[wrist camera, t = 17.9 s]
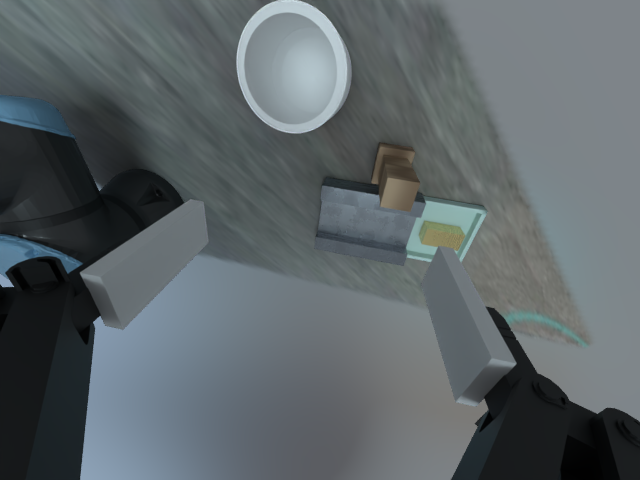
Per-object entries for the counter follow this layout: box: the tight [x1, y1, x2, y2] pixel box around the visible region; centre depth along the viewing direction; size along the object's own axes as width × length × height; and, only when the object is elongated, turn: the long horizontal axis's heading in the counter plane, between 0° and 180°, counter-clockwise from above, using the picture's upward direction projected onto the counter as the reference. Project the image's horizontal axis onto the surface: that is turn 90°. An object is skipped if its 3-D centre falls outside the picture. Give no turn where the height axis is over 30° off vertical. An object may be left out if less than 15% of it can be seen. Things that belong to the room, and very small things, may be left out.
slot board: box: [314, 177, 426, 266], centre depth 44 cm, size 16×12×4 cm
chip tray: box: [406, 196, 488, 262], centre depth 44 cm, size 10×11×2 cm
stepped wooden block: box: [371, 143, 420, 212], centre depth 34 cm, size 5×6×14 cm
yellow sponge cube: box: [441, 224, 465, 251], centre depth 43 cm, size 3×3×3 cm
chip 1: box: [419, 221, 446, 247], centre depth 43 cm, size 3×3×3 cm
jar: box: [237, 0, 352, 133], centre depth 30 cm, size 11×10×15 cm
